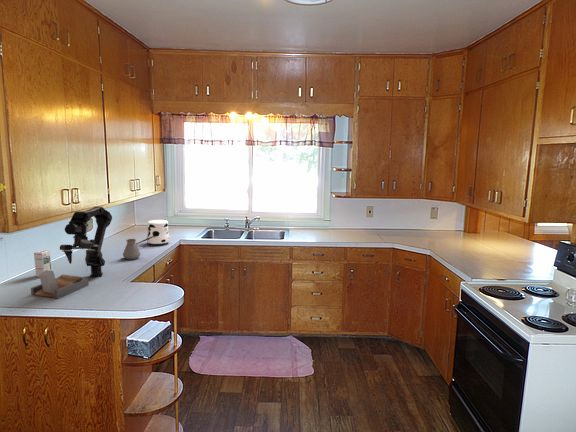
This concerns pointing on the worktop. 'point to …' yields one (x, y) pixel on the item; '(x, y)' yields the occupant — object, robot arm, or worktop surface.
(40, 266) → the syrup box
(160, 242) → the milk container
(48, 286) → the stone
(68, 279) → the trapdoor
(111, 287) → the worktop surface
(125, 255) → the coffee pot
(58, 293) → the frame
